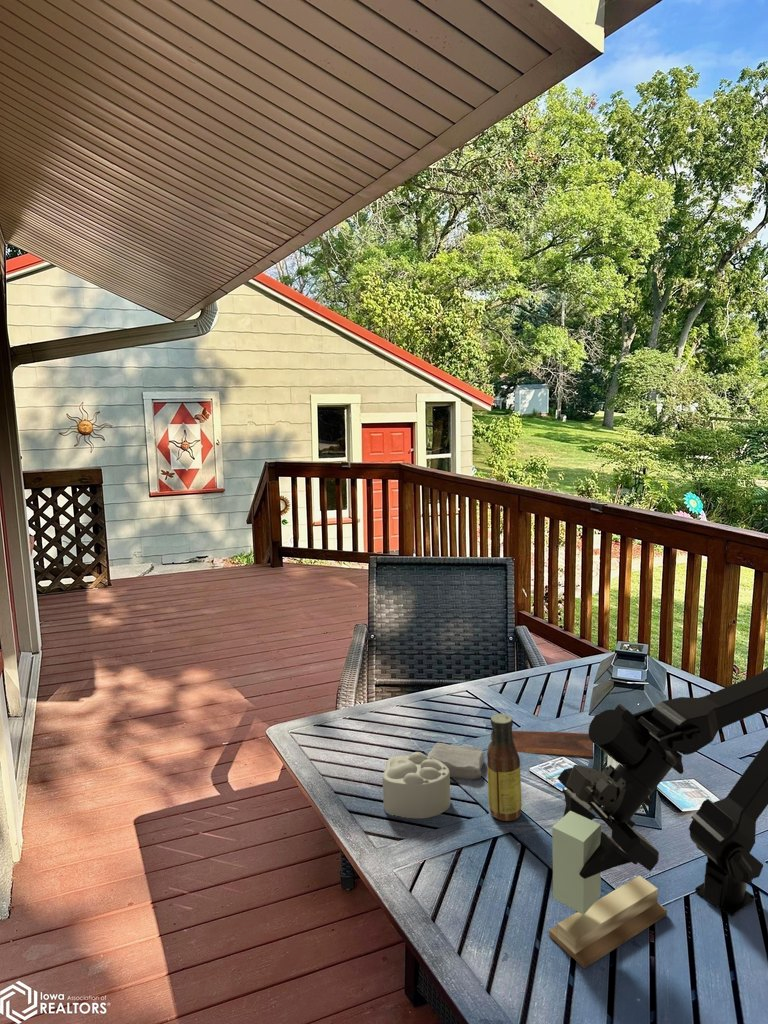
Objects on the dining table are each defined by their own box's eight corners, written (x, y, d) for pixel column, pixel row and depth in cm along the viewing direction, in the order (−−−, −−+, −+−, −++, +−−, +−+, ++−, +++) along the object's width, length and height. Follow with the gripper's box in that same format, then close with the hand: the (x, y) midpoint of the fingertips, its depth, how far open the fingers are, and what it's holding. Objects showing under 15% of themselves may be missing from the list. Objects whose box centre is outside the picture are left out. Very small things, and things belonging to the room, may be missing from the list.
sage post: (570, 879, 107) (570, 810, 104) (600, 895, 103) (600, 824, 101) (553, 898, 103) (552, 827, 101) (583, 915, 100) (583, 841, 97)
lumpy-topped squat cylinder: (389, 785, 144) (388, 747, 143) (452, 789, 142) (451, 750, 141) (381, 816, 134) (379, 775, 133) (448, 821, 132) (447, 780, 131)
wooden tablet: (488, 746, 156) (491, 720, 165) (488, 755, 157) (491, 728, 166) (611, 757, 150) (607, 729, 160) (611, 765, 151) (607, 737, 160)
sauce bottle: (526, 809, 135) (527, 715, 131) (513, 827, 130) (513, 730, 126) (495, 799, 138) (495, 707, 134) (481, 815, 133) (481, 721, 129)
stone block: (433, 759, 157) (423, 775, 147) (434, 738, 157) (424, 753, 147) (486, 768, 153) (479, 785, 144) (487, 746, 153) (480, 762, 144)
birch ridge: (629, 887, 114) (630, 869, 113) (666, 915, 108) (667, 895, 107) (549, 935, 105) (549, 915, 104) (584, 968, 99) (584, 947, 98)
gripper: (568, 719, 108) (505, 797, 108) (641, 785, 91) (566, 879, 90) (612, 755, 112) (551, 830, 111) (690, 826, 94) (618, 915, 94)
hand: (568, 860), depth 102 cm, fingers closed on sage post, 7 cm apart
